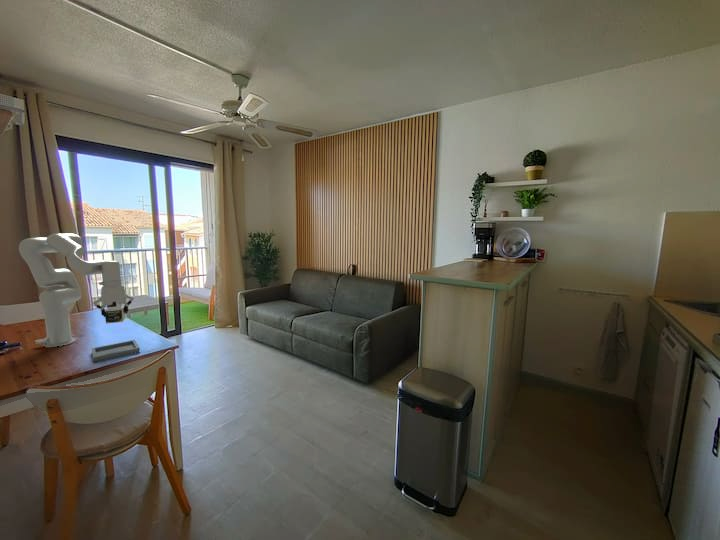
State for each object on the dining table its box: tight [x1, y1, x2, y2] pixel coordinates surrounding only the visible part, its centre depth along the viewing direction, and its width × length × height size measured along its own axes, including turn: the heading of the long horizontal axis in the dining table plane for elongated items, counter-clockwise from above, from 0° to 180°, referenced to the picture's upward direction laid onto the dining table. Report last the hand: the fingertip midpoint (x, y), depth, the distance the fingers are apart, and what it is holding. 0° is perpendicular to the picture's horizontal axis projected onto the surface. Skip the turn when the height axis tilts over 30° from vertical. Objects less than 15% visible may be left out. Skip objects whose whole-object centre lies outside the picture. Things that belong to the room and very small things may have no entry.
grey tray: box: [91, 339, 140, 363], centre depth 152 cm, size 18×16×2 cm
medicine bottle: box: [104, 302, 126, 324], centre depth 157 cm, size 7×7×12 cm
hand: (115, 314), depth 157 cm, fingers closed on medicine bottle, 8 cm apart
